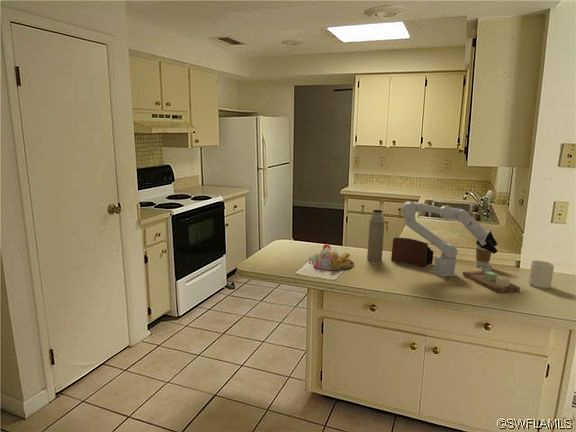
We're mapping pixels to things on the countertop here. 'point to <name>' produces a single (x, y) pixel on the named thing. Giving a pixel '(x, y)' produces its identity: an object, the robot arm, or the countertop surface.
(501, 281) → the beige cube
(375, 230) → the thermos bottle
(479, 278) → the brown flat board
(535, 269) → the mug
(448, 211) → the robot arm
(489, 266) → the slider knob
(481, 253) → the coffee cup
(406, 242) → the letter holder
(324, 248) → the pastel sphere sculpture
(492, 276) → the sage green cube
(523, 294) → the countertop surface
